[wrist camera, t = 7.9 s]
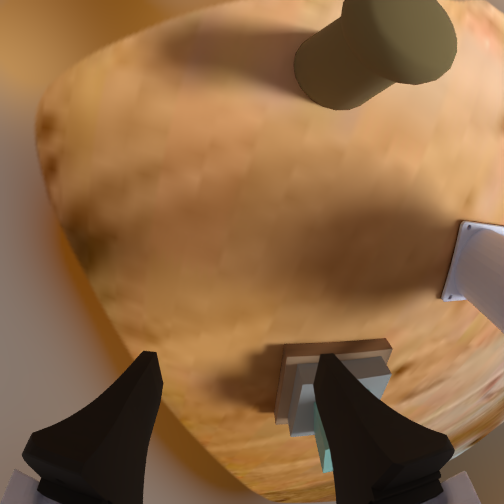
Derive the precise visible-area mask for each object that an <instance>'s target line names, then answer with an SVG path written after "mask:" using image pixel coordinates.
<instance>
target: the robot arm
mask: <svg viewBox="0 0 504 504" xmlns="http://www.w3.org/2000/svg"><path fill="white" fill-rule="evenodd" d="M468 225H469V226H468ZM467 227H468V228H467ZM441 299H442V300H443V301H444V302H447V301H458V300H468V301H469V302H470V303H472V304H473V305H474V306H475V307H476V308H477V309H478V310H479V311H480V312H482V313H483V314H484V315H485V316H486V317H487V318H488V319H489V320H490V321H491V322H492V323H493V324H494V325H495V326H496V327H498V328H499V329H500V330H501V331H502V332H503V333H504V226H499V225H492V224H485V223H478V222H471V221H462V223H461V224H460V228H459V233H458V238H457V242H456V246H455V251H454V255H453V258H452V262H451V266H450V270H449V273H448V277H447V280H446V283H445V287H444V290H443V293H442V296H441ZM313 388H314V394H315V400H316V405H317V409H318V412H319V415H320V418H321V422H322V425H323V428H324V431H325V435H326V438H327V441H328V445H329V449H330V455H331V461H332V467H333V474H334V482H335V492H336V503H337V504H481V503H480V501H479V498H478V496H477V494H476V492H475V490H474V487H473V485H472V483H471V481H470V479H469V477H468V475H467V473H466V471H463V472H461V473H459V474H457V475H455V476H453V477H451V478H449V479H447V480H445V481H443V482H442V483H440V481H439V478H440V477H441V474H440V471H439V470H440V469H441V468H442V467H443V466H444V465H445V464H446V463H447V462H448V461H449V460H450V459H451V457H452V456H453V454H454V452H455V450H454V448H453V446H452V444H451V442H450V440H449V439H448V437H447V435H445V434H442V433H439V432H436V431H434V430H431V429H428V428H426V427H424V426H422V425H419V424H417V423H415V422H413V421H411V420H409V419H408V418H406V417H404V416H403V415H401V414H399V413H398V412H396V411H394V410H393V409H391V408H390V407H389V406H387V405H386V404H385V403H383V402H382V401H381V400H379V399H378V398H377V397H376V396H375V395H373V394H372V393H371V392H370V391H369V390H368V389H367V388H366V387H365V386H364V385H363V384H362V383H361V382H360V381H359V380H358V379H357V378H356V377H355V376H354V375H353V374H352V373H351V372H350V371H349V370H348V369H347V368H346V367H345V365H344V364H343V363H342V362H341V361H340V360H339V359H338V358H337V356H336V355H335V354H334V353H328V354H320V358H319V362H318V367H317V371H316V375H315V379H314V383H313ZM162 389H163V380H162V376H161V371H160V367H159V362H158V358H157V353H156V352H150V351H143V352H142V353H141V354H140V355H139V356H138V357H137V358H136V359H135V361H134V362H133V363H132V364H131V365H130V366H129V367H128V368H127V370H126V371H125V372H124V373H123V374H122V375H121V376H120V377H119V378H118V379H117V380H116V381H115V382H114V383H113V384H112V385H111V386H110V387H109V388H108V389H107V390H106V391H104V392H103V393H102V394H101V395H100V396H99V397H98V398H96V399H95V400H94V401H93V402H91V403H90V404H89V405H87V406H86V407H84V408H83V409H81V410H80V411H78V412H77V413H75V414H73V415H72V416H70V417H68V418H66V419H65V420H63V421H61V422H58V423H57V424H54V425H52V426H50V427H47V428H44V429H42V430H39V431H36V432H33V433H32V435H31V436H30V439H29V440H28V443H27V444H26V447H25V449H24V451H23V453H22V457H23V459H24V461H26V463H27V464H28V465H29V466H30V467H31V468H32V469H33V470H34V471H35V472H36V473H37V474H39V476H40V477H41V480H40V482H38V481H37V480H35V479H34V478H32V477H30V476H28V475H26V474H24V473H22V472H20V471H18V470H16V469H14V471H13V474H12V476H11V478H10V481H9V483H8V486H7V488H6V491H5V493H4V496H3V498H2V501H1V504H143V487H144V474H145V464H146V456H147V450H148V445H149V441H150V437H151V433H152V430H153V426H154V423H155V419H156V416H157V412H158V409H159V405H160V402H161V395H162Z"/></svg>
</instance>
